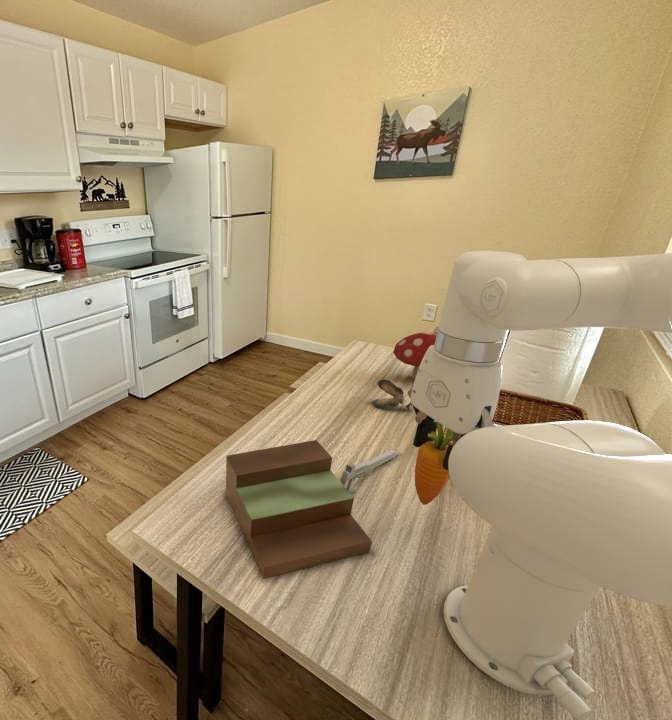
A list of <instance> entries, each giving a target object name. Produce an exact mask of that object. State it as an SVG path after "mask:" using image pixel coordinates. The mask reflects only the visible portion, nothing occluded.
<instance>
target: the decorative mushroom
mask: <svg viewBox="0 0 672 720" xmlns="http://www.w3.org/2000/svg"><path fill="white" fill-rule="evenodd" d="M436 337H437V335H435V334H434V332H416V333H413V334H411V335H408V336H405V337H404V338H402V339H401V340H399V341H398V342H397V343H395V345H394V349H393V352H392V353H393V355H394V356H395V358H396V359H397V360H398V361H400V362H402V363H403V364H405V365H409V366H411V367H413V370H412V373H411V378H412V379H414V380H415V378H416V375H417V372H418V369H419V366H420V364H421V362H422V359H423V357H424V355H425V353H426V352H427V350H428V348H429V347H430V346H432V345H435V341H436Z"/></svg>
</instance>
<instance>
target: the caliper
mask: <svg viewBox="0 0 672 720" xmlns="http://www.w3.org/2000/svg"><path fill="white" fill-rule="evenodd" d="M399 454H400V451H397V450H395V449H394V448H393V449H390V450H387V451H385V452H383V453H381V454H379V455H377V456H375V457H373V458H370V459H369V460H366V461H361V462H359V463H357V464H354V463H352V462H350V463H349V464H346V466H345V469H344V470H343V471H342V474H341V477H340V479H339V481H340V482H341V483H342V484H343V485H344V486H345V488H346V489H347V490H348V491H349V492H351V490H352V488H353V485H354V483H355V481H356V479H361V478H362V477H364V476H365V475H366V473H367V472H369V471H372V469H375V468H376V467H379V466H380V465H383V464H384V463H387V462H388V461H390V460H392V459H395V458H396V456H397V455H399Z"/></svg>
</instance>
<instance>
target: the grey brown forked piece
mask: <svg viewBox="0 0 672 720" xmlns="http://www.w3.org/2000/svg"><path fill="white" fill-rule="evenodd" d="M376 384H377V386H378V388H379V389H380V390H382V391H383V392H385V393H386V394H388V395H390V396H392V397H390V398H389V397H388V398H387V397H386V398H380V399H379V398H378V399H374V400H372V401H371V404H372V405H373V406H374V407H376V408H385V407H388V408H389V407H390V408H395V407H398V406H399V405H403V407H406V410H408V411H410V408H411V406H413V404H412V403H411V400H410V398H409V396H408V394H406V395H405V391H404V390H403V389H402V388H401V387H399V386H397V385H396V384H395V383H393V382H392V380H390V379H383V378H382V379H379V380H378V381H377V382H376Z"/></svg>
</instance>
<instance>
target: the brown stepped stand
mask: <svg viewBox="0 0 672 720" xmlns="http://www.w3.org/2000/svg"><path fill="white" fill-rule="evenodd" d="M225 462H226V463H225V495H226V498H227V500H228V502H229V504H230V506H231V509H232V511H233V514H234V515H235V518H236V521H237V522H238V524H239V527H240V529H241V531H242V534H243V536H244V538H245V540H246V542H247V545H248V547H249V549H250V552H251V554H252V556H253V558H254V560H255V563H256V565H257V567H258V569H259V572H260V574H261V576H262V578H263V579H267V578H271V577H276V576H279V575H284V574H288V573H292V572H297V571H299V570H304V569H308V568H312V567H315V566H319V565H324V564H327V563H333V562H337V561H341V560H344V559H348V558H352V557H356V556H360V555H365V554H368V553H370V552H371V548H372V543H373V541H372V539H371V538H370V537H369V535H368V534H367V533H366V532H365V529H363V527H361V525H360V524H359V523H358V522H357V520H356V519H355V518H354V516H353V515H352V510H353V505H354V500H355V497H354V496H353V494H352V493H351V491H348V490H347V489H346V488H345V486H344V485H343V484H342V483H341V482H340V479H339V478H338V477H337V476H336V475H335V474H334V472H333V471H332V470H331V468H332V463H333V457H332V456H331V454H330V453H329V452H328V451H327V450H326V449H325V448H324V447H323V446H322V444H320V442H319V441H318V440H317V439H314V440H308V441H307V440H306V441H302V442H296V443H291V444H285V445H280V446H274V447H268V448H261V449H257V450H250V451H245V452H239V453H234V454H233V453H232V454H228V455H226V461H225Z"/></svg>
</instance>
